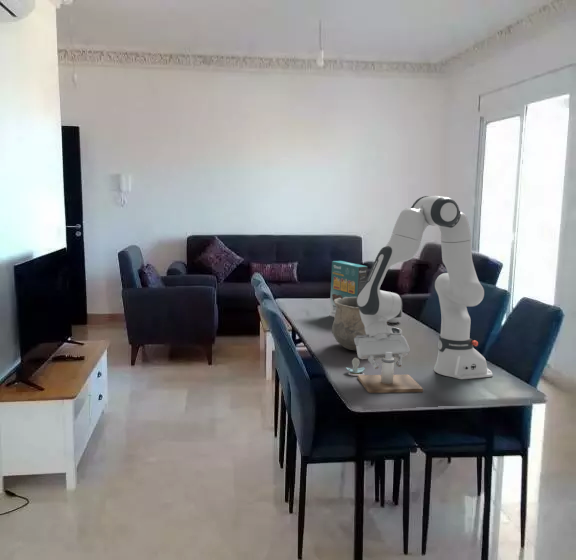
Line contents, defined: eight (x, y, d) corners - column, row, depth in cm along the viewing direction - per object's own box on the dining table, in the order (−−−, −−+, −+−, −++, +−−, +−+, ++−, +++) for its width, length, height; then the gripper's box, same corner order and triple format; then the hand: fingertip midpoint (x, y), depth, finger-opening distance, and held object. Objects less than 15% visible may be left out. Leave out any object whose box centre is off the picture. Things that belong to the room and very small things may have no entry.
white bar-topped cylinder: (391, 379, 232) (392, 350, 230) (394, 383, 228) (396, 354, 226) (379, 379, 231) (380, 350, 229) (382, 383, 227) (384, 354, 225)
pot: (390, 357, 265) (393, 308, 262) (335, 356, 263) (337, 307, 260) (377, 341, 290) (380, 296, 286) (327, 340, 288) (329, 295, 284)
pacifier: (366, 377, 239) (363, 371, 245) (367, 361, 237) (364, 356, 243) (348, 377, 238) (344, 371, 244) (348, 361, 237) (345, 356, 242)
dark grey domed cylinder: (377, 321, 331) (379, 293, 328) (391, 318, 337) (393, 291, 334) (391, 325, 323) (393, 296, 320) (405, 322, 329) (407, 294, 326)
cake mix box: (364, 323, 325) (367, 266, 320) (355, 324, 322) (358, 267, 317) (338, 314, 343) (340, 260, 338) (329, 315, 340) (332, 261, 335)
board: (408, 377, 239) (408, 374, 239) (422, 391, 223) (423, 388, 223) (357, 378, 236) (357, 375, 236) (368, 392, 221) (368, 389, 220)
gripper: (355, 331, 230) (365, 364, 222) (405, 329, 236) (416, 361, 229) (350, 340, 235) (359, 372, 227) (398, 337, 241) (409, 369, 233)
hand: (388, 367), depth 228 cm, fingers open, 8 cm apart
